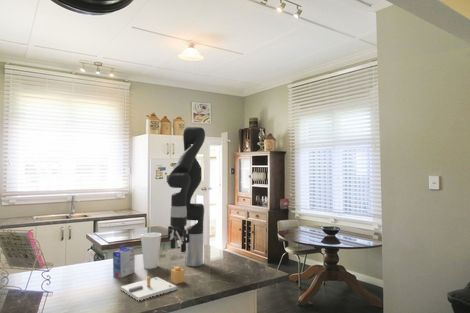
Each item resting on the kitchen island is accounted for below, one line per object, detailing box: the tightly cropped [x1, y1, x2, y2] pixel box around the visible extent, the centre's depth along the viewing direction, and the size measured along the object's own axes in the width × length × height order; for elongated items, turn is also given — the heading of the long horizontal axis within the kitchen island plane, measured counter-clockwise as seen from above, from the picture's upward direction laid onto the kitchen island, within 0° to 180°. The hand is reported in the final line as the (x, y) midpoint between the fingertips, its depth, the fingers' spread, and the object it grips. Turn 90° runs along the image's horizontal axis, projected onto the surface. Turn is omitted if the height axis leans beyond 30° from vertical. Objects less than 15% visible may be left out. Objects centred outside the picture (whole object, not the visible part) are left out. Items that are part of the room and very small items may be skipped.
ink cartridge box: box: [112, 243, 136, 279], centre depth 162 cm, size 10×6×14 cm, turn 155°
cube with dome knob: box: [170, 266, 185, 285], centre depth 153 cm, size 4×4×6 cm
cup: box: [140, 232, 162, 270], centre depth 174 cm, size 11×10×17 cm
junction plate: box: [120, 276, 177, 302], centre depth 142 cm, size 16×18×6 cm
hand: (178, 250), depth 153 cm, fingers open, 8 cm apart
